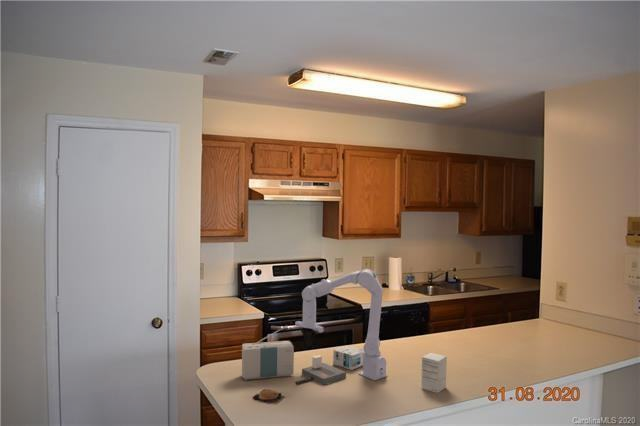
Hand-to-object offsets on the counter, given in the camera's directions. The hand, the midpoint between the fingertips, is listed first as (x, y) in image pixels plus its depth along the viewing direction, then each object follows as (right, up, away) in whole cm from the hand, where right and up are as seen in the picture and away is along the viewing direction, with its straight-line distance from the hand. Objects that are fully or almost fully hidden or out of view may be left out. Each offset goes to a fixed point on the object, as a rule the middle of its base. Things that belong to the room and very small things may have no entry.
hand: (308, 345), depth 209 cm
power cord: (-2, -11, -14) cm, 18 cm away
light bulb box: (+14, -7, +11) cm, 19 cm away
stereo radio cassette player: (-17, -11, -7) cm, 22 cm away
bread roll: (-14, -12, -29) cm, 35 cm away
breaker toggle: (+4, -8, -4) cm, 10 cm away
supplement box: (+49, -12, -18) cm, 54 cm away
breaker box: (+6, -11, -7) cm, 14 cm away
